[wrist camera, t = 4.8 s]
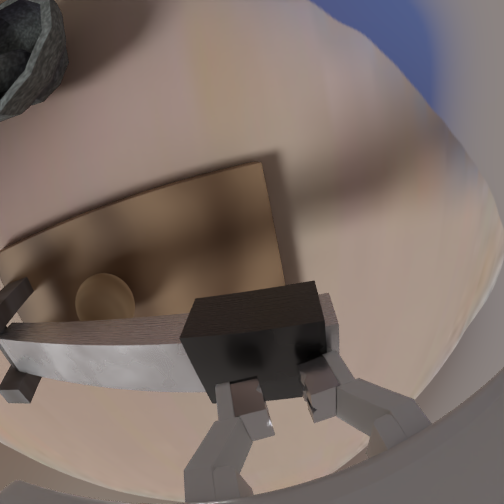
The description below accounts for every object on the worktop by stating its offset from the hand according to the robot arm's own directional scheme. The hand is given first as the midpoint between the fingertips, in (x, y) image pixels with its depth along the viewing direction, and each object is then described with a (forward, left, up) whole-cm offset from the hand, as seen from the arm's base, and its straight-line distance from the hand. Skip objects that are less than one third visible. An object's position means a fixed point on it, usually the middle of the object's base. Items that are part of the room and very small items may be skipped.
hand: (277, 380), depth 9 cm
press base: (-8, 0, -14) cm, 16 cm away
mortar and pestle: (-12, +19, -14) cm, 27 cm away
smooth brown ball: (-9, 0, -12) cm, 15 cm away
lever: (-7, 0, -5) cm, 9 cm away
